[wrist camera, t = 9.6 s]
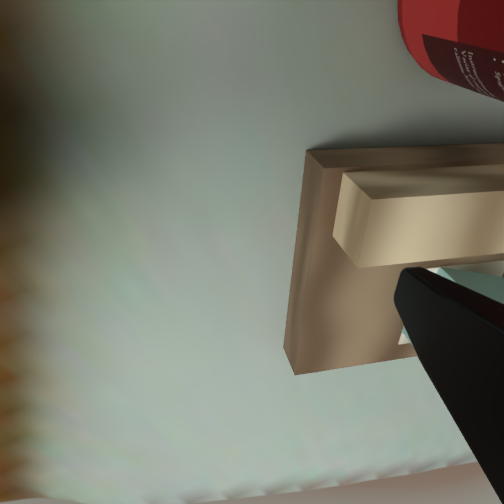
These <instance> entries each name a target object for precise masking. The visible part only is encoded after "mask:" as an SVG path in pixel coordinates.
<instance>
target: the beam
mask: <svg viewBox="0 0 504 504" xmlns="http://www.w3.org/2000/svg"><path fill="white" fill-rule="evenodd" d="M333 237H334V239H335V240H336V241H337V242H338V244H339V245H340V246H341V248H342V249H343V250H344V252H345V253H346V254H347V255H348V257H349V258H350V259H351V261H352V262H353V263H354V265H355V266H356V267H357V268H364V267H374V266H384V265H393V264H403V263H412V262H422V261H431V260H441V259H451V258H460V257H470V256H479V255H489V254H498V253H504V164H498V165H478V166H459V167H439V168H419V169H400V170H380V171H361V172H343V176H342V182H341V188H340V194H339V200H338V206H337V212H336V218H335V224H334V230H333Z"/></svg>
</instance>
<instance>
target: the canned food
mask: <svg viewBox="0 0 504 504" xmlns="http://www.w3.org/2000/svg"><path fill="white" fill-rule="evenodd" d="M398 22H399V26H400V31H401V35H402V38H403V40H404V43H405V45H406V47H407V49H408V51H409V52H410V54H411V55H412V56H413V58H414V59H415V60H416V61H417V63H418V64H419V65H420V67H421V68H422V69H424V70H425V71H426V72H428V73H429V74H430V75H431V76H434V77H436V78H439V79H441V80H444V81H447V82H450V83H452V84H455V85H458V86H461V87H464V88H466V89H469V90H472V91H475V92H478V93H480V94H483V95H486V96H489V97H492V98H494V99H497V100H500V101H503V102H504V0H398Z"/></svg>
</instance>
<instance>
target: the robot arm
mask: <svg viewBox="0 0 504 504" xmlns="http://www.w3.org/2000/svg"><path fill="white" fill-rule="evenodd" d="M394 304H395V307H396V309H397V312H398V314H399V316H400V318H401V321H402V323H403V325H404V327H405V330H406V332H407V334H408V336H409V339H410V341H411V343H412V345H413V348H414V350H415V352H416V354H417V356H418V358H419V360H420V362H421V364H422V365H423V367H424V369H425V371H426V372H427V374H428V376H429V378H430V379H431V381H432V383H433V385H434V386H435V388H436V390H437V392H438V393H439V395H440V397H441V398H442V400H443V402H444V404H445V405H446V407H447V409H448V411H449V412H450V414H451V416H452V417H453V419H454V421H455V423H456V424H457V426H458V428H459V430H460V431H461V433H462V435H463V437H464V438H465V440H466V442H467V443H468V445H469V447H470V449H471V450H472V452H473V454H474V456H475V457H476V459H477V461H478V462H479V464H480V466H481V468H482V469H483V471H484V473H485V474H486V476H487V478H488V480H489V481H490V483H491V485H492V487H493V488H494V490H495V492H496V494H497V495H498V497H499V499H500V501H501V502H502V504H504V304H503V303H500V302H498V301H496V300H494V299H492V298H489V297H487V296H485V295H483V294H480V293H478V292H476V291H474V290H472V289H469V288H467V287H465V286H463V285H460V284H458V283H456V282H454V281H451V280H449V279H447V278H445V277H443V276H440V275H438V274H436V273H434V272H431V271H429V270H427V269H425V268H423V267H419V266H417V267H406V268H404V269H402V271H401V272H400V275H399V279H398V282H397V285H396V289H395V292H394Z"/></svg>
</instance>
